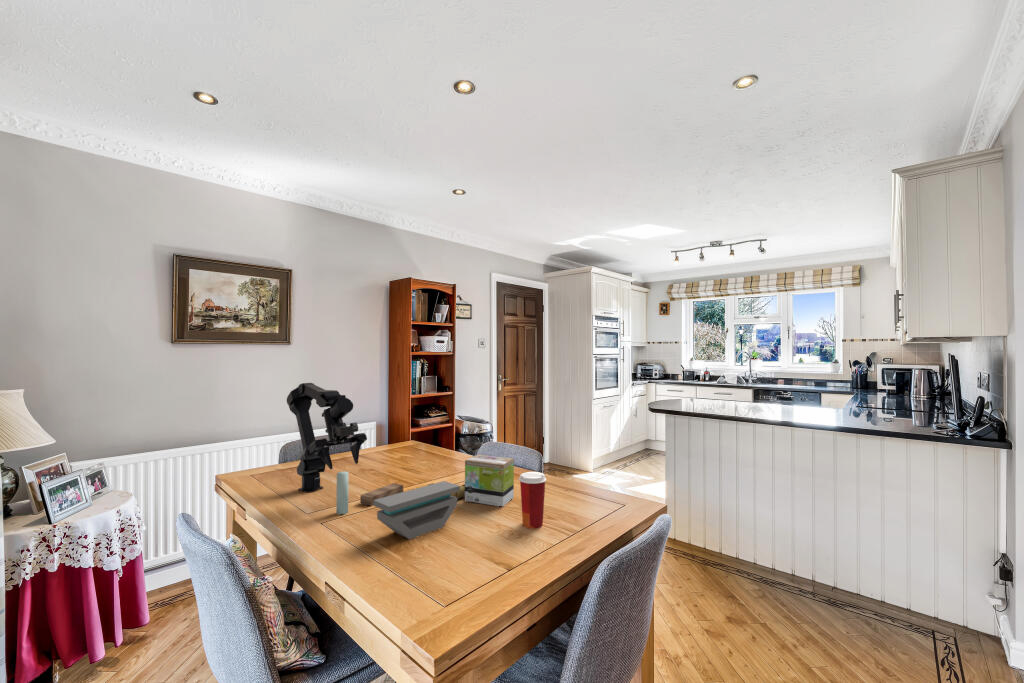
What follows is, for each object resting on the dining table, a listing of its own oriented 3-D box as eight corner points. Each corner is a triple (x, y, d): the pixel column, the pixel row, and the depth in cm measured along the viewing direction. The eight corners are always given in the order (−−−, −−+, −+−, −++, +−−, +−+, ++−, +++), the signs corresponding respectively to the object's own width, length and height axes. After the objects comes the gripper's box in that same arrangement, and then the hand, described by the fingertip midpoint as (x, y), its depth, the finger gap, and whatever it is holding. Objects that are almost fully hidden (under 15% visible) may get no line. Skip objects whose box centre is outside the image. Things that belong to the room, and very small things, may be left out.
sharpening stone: (388, 547, 119) (389, 506, 119) (373, 539, 124) (373, 500, 125) (459, 521, 137) (459, 485, 138) (443, 515, 143) (443, 480, 143)
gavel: (416, 482, 169) (437, 476, 176) (416, 494, 168) (438, 488, 176) (450, 490, 154) (472, 484, 161) (451, 503, 154) (473, 497, 161)
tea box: (463, 502, 155) (463, 459, 155) (476, 493, 164) (476, 453, 165) (503, 507, 149) (503, 463, 150) (514, 498, 159) (514, 457, 159)
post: (333, 513, 144) (334, 473, 144) (342, 510, 147) (343, 470, 147) (341, 515, 142) (342, 474, 142) (350, 512, 145) (350, 472, 146)
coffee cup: (549, 521, 137) (549, 472, 137) (542, 531, 129) (542, 479, 130) (523, 518, 140) (523, 470, 140) (515, 528, 132) (514, 477, 132)
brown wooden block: (370, 506, 151) (371, 497, 151) (360, 504, 153) (360, 495, 153) (403, 493, 165) (403, 485, 165) (393, 491, 167) (393, 483, 167)
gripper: (317, 418, 146) (328, 463, 141) (369, 412, 160) (379, 453, 155) (304, 430, 153) (313, 474, 148) (354, 423, 167) (364, 463, 162)
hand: (344, 466), depth 153 cm, fingers open, 9 cm apart
